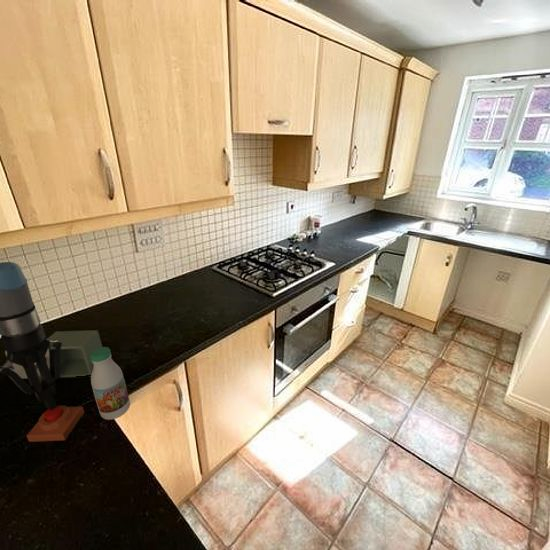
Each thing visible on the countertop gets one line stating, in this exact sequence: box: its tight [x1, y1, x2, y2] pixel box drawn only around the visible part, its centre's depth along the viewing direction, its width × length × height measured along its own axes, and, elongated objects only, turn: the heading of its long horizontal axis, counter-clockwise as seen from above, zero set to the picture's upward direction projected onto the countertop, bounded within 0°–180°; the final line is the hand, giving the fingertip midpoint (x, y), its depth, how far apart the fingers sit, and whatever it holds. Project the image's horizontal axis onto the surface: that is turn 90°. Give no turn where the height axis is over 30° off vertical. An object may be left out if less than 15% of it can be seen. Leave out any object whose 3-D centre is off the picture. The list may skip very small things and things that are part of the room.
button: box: [43, 405, 62, 422], centre depth 79 cm, size 4×4×2 cm
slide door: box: [4, 349, 62, 384], centre depth 92 cm, size 14×7×10 cm, turn 92°
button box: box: [26, 405, 85, 443], centre depth 80 cm, size 9×9×4 cm
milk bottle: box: [90, 346, 131, 421], centre depth 82 cm, size 8×8×20 cm
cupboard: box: [47, 329, 103, 378], centre depth 100 cm, size 14×9×12 cm, turn 92°
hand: (51, 406), depth 78 cm, fingers closed
